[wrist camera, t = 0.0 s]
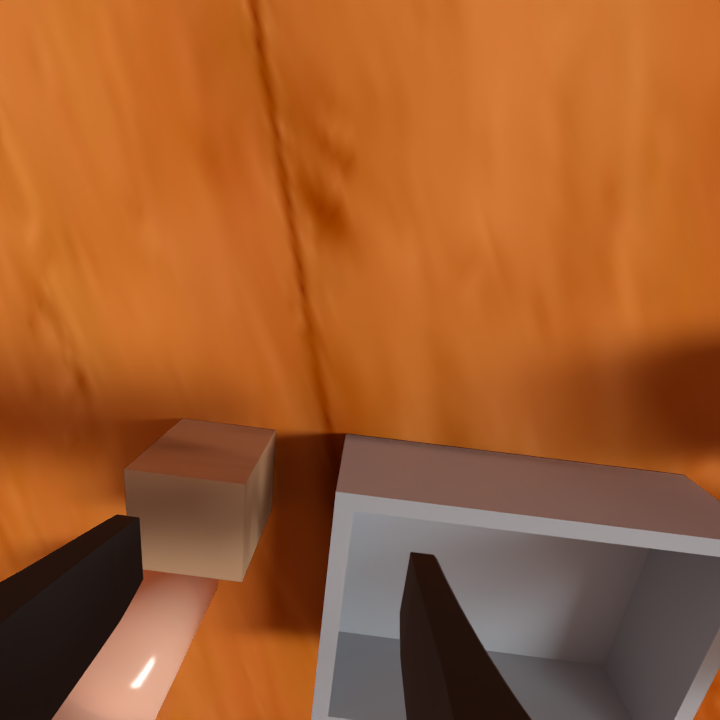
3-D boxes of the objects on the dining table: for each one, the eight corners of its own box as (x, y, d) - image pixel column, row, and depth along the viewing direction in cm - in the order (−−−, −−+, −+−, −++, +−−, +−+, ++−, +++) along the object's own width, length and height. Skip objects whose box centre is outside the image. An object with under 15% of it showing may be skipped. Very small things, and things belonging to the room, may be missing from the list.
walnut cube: (272, 508, 22) (241, 582, 17) (185, 497, 22) (130, 567, 17) (276, 429, 20) (245, 484, 16) (183, 417, 20) (123, 469, 16)
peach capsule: (218, 611, 24) (156, 753, 17) (139, 601, 24) (46, 738, 17) (218, 546, 23) (151, 672, 16) (135, 535, 23) (32, 656, 16)
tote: (607, 666, 24) (665, 772, 19) (324, 629, 24) (310, 725, 19) (684, 475, 20) (781, 547, 15) (346, 433, 20) (335, 491, 15)
